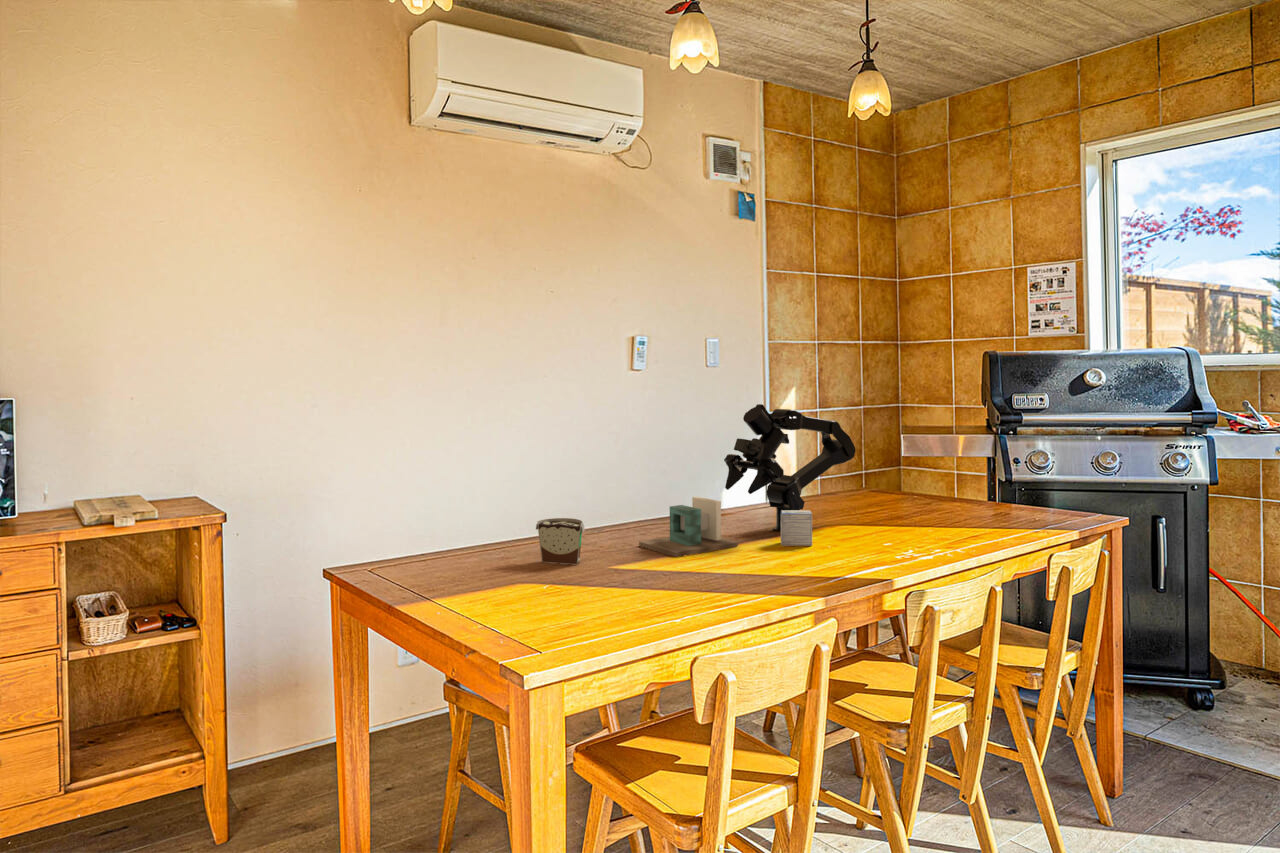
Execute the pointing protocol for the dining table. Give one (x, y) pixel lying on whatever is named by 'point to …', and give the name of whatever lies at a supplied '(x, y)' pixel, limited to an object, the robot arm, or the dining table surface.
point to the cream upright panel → (707, 517)
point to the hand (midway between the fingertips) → (737, 490)
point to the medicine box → (796, 528)
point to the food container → (560, 540)
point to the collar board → (686, 549)
